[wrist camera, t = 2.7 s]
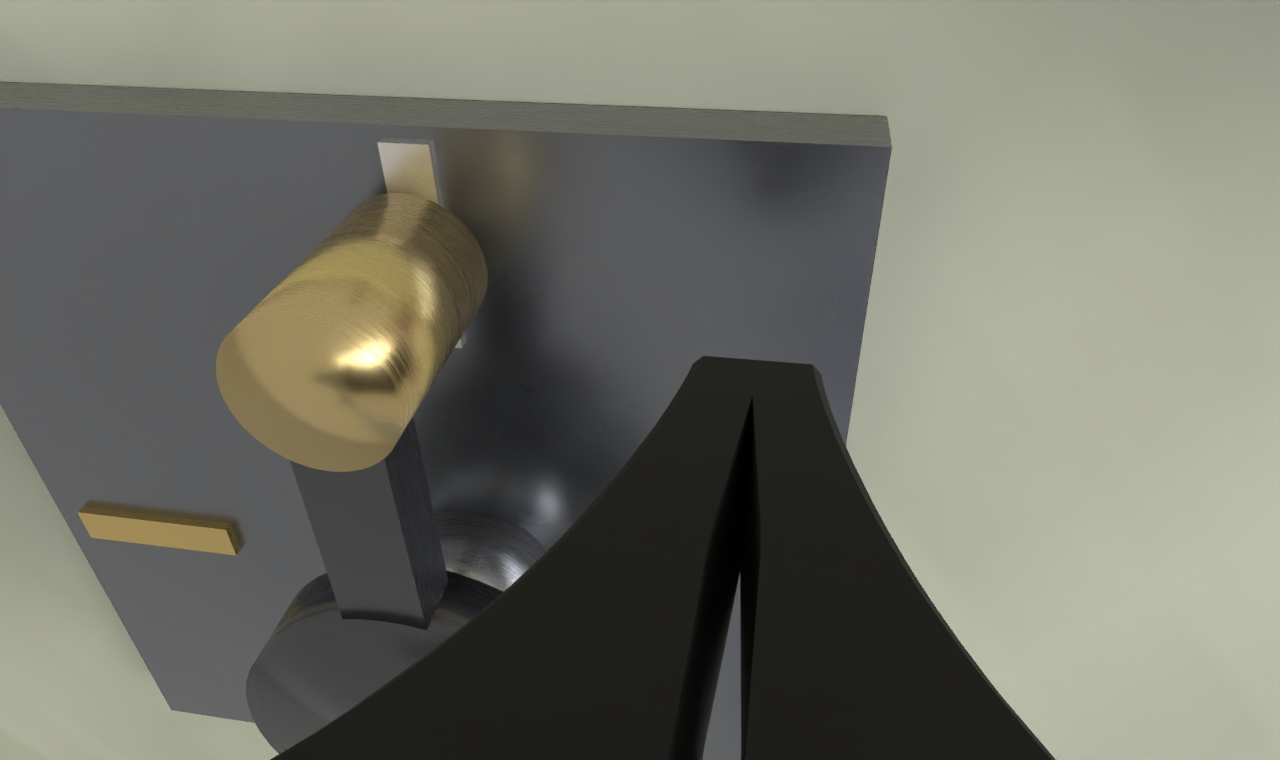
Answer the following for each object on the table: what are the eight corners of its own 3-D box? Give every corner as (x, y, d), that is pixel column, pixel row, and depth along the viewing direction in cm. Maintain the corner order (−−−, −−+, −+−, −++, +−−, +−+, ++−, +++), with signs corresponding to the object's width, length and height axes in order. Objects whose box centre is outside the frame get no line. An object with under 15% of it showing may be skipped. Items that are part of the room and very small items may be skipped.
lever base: (886, 116, 13) (904, 224, 10) (792, 760, 23) (786, 906, 20) (-108, 77, 16) (-320, 155, 13) (195, 673, 25) (115, 792, 23)
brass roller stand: (622, 695, 20) (588, 855, 17) (367, 659, 20) (294, 806, 18) (598, 203, 13) (533, 336, 10) (214, 182, 14) (54, 298, 11)
